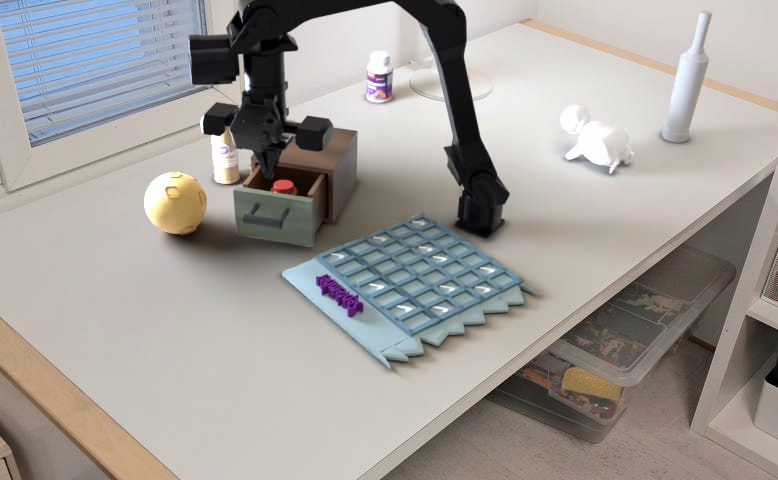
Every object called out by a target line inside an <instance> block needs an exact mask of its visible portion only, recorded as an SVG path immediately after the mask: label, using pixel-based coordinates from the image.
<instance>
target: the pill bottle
mask: <svg viewBox="0 0 778 480" xmlns="http://www.w3.org/2000/svg"><path fill="white" fill-rule="evenodd" d="M366 67H367V69H366V98H367V100H368V101H370V102H372V103H377V104H378V103H379V104H381V103H387V102H390V101H391V100H392V98H393V80H394V79H393V78H394V66H393V64H392V63H391V53H390V52H388V51H386V50H379V49H377V50H373V51H372V52H371V53H370V62H369V63H368V64H367V66H366Z"/></svg>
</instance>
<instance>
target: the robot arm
mask: <svg viewBox="0 0 778 480" xmlns="http://www.w3.org/2000/svg"><path fill="white" fill-rule="evenodd" d="M386 3H394V4H396V5H397V6H399V7H400V8H401V9H403V10H404V11H405V12H406V13H407V14H409V15H410V16H411V17H412V18H414V19H415V20H416V21H417V23H418V26H419V28H420V31H421V32H422V34H423V37H424V38H425V40H426V42H427V44H428V46H429V48H430V50H431V52H432V55H433V57H434V60H435V65H436V68H437V74H438V77H439V81H440V82H439V83H440V86H441V90H442V95H443V100H444V104H445V108H446V111H447V117H448V120H449V125H450V130H451V133H452V141H451V145H446V146H443V150H444V153H445V155H446V157H447V164H446V167H447V169H448V170H449V173H450V174H451V175H452V177H453V179H454V180H455V182H456V184H457V186H458V187H461V186H462V188H463V189H462V191H461V195H459V196H458V204H457V215H456V217H457V220H455V222H454V224H453V227H455V228H456V229H460V230H463V231H465V232H467V233H470V234H473V235H476V236H477V237H480V238H483V239H489V238H491V236H492V235H493V234H494V233H496V232H497V231H498V230H499V229H500V228H501V227H502V226H503V225H505V223H506V220H505V218H502V216H503V208H504V205H506V203H507V201H508V199H509V197H510V195H511V192H510V191H509V189H508V188H507V186H506V185H505V183H503V181H502V180H501V178H500V176H499V175H498V172H497V169H496V167H495V165H494V162H493V159H492V158H491V155H490V154H489V151H488V149H487V147H486V145H485V144H484V142H483V140H482V137H481V132H480V128H479V122H478V118H477V113H476V108H475V104H474V99H473V93H472V88H471V84H470V80H469V75H468V70H467V65H466V60H465V52H466V47H467V43H468V26H467V24H468V21H467V16H466V13H465V11H464V10H463V9H462V7H461V6H460V5H459V3H457V1H456V0H238V1H237V7H238V8H237V10H236V12H235V13H234V15H233V16H232V18H231V20H230V21H229V22H228V24H227V26H226V27H225V32H226V33H224V34H207V35H206V34H204V35H203V34H198V33H197V34H188V36H187V40H188V51H189V52H188V53H187V56H188V64H189V65H188V67H189V74H190V81H191V82H190V83H191V87H207V86H220V85H233V83H234V82H237V77H240V76H241V75H240V73H241V69H240V59H239V55H242V63H243V64H242V68H243V79H244V89H243V90H242V92H241V97H240V106H239V105H238V104H231V103H225V102H219V101H216V102H215V103H214V104H213V105H212V106H211V107H210V108H208V110H207V111H205V113H204V114H203V115H202V116H201V118H200V130H201V131H200V132H201V133H202V134H203V135H207V136H211V135H212V136H219V137H220V136H221V135H222V134H223V133H224V132H225V131H226V127H225V126H229V127H230V133H231V137H232V140H233V144H234V147H235V148H237V150H248V151H252V153H253V154H254V155H255V156H256V158H257V160H258V162H259V164H260V167H261V169H262V171H263V173H264V175H265V177H266V178H267V179H272V177H273V175H274V173H275V170H276V167H277V164H278V162H279V159H280V156H281V154H282V151H283V150H285V149H286V148H287V147H288V146H289V144H290V143H291V142H292V141H293V139H294V138H295V144H296V145H297V146H298V147H299V148H300V149H302V150H309V151H315V152H319V151H323V149H324V148H325V147H326V145H327V144H328V142H329V141H330V139H331V138H332V136H333V127H334V124H333V123H332V120H331V119H330V118H328V117H327V118H326V117H320V116H313V115H306V116H305V117H304V119H303V120H302V121H301V122H299V123H295V122H296V121H295V120H293V119H287V117H288V116H290V107H287V98H286V97H287V96H286V91H287V90H288V89H289V81H288V80H287V81H286V73H285V70H286V69H285V68H286V67H285V53H289V52H297V51H298V50H299V46H298V43H297V41H296V39H295V37H293V36H292V35H290V34H289V33H290V32H292V31H294V30H295V29H297V28H298V27H300V26H301V25H302V24H304V23H306V22H309V21H311V20H314V19H319V18H323V17H328V16H332V15H336V14H342V13H344V12H345V13H346V12H350V11H355V10H359V9H365V8H368V7H372V6H377V5H382V4H386ZM300 123H301V124H300Z"/></svg>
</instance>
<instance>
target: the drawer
mask: <svg viewBox="0 0 778 480" xmlns="http://www.w3.org/2000/svg"><path fill="white" fill-rule="evenodd" d="M278 180H289V181H291V182H293V185H294V187H296V189H297V193H298V196H294V195H288V194H282V193H276V192H270V190H271V188H272V187H273V184H274V183H275V182H276V181H278ZM232 192H233V194H232V195H233V205H234V206H233V207H234V217H235V230H236V235H238V236H245V237H250V238H251V237H252V238H256V239H261V240H268V241H272V242H279V243H284V244H285V243H286V244H290V245H291V244H292V245H296V246H297V245H298V246H302V247H303V246H304V247H309V248H313V247H314V245H315V243H316V242H315V241H316V239H315V235H316V233H317V231H318V229H319V228H320V226H321V225H322V223H323V222H322V221H323V219H324V218H325V216H326V214H327V213H328V211H329V206H328V173H321V172H315V171H308V170H302V169H295V168H289V167H282V166H277V167H276V170H275V173H274V175H273V177H272V179H267V178H266V177H265V175H264V173H263V171H262V169H261V167H260V164H258V166H257V167H256V168H255V169H254V171H253V172H251V173H250V175H249V176H248V177H247V178H246V180H245V181H244V182H243V186H238V185H236V186H234V188H233V189H232Z"/></svg>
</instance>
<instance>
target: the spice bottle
mask: <svg viewBox="0 0 778 480" xmlns="http://www.w3.org/2000/svg"><path fill="white" fill-rule="evenodd" d="M270 192H276V193H282V194H288V195H294V196H298V193H297V189H296V187H294V185H293V182H291V181H289V180H278V181H276V182H275V183H274V184H273V187H272V188H271V190H270Z"/></svg>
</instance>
